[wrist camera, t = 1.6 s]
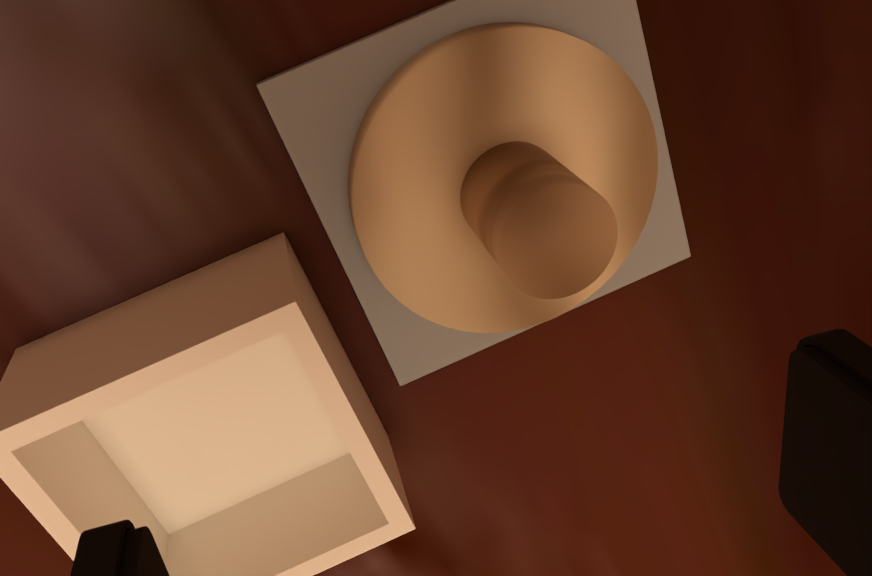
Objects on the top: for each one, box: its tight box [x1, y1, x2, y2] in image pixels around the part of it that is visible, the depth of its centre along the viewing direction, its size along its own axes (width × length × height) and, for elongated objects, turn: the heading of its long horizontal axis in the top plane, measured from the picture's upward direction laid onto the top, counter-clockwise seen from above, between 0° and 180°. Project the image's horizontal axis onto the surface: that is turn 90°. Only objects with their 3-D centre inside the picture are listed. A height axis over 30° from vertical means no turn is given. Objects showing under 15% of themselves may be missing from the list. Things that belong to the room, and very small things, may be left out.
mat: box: [256, 0, 691, 386], centre depth 31 cm, size 14×14×1 cm
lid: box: [348, 22, 658, 333], centre depth 28 cm, size 12×12×6 cm
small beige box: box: [0, 232, 416, 576], centre depth 30 cm, size 11×11×6 cm
